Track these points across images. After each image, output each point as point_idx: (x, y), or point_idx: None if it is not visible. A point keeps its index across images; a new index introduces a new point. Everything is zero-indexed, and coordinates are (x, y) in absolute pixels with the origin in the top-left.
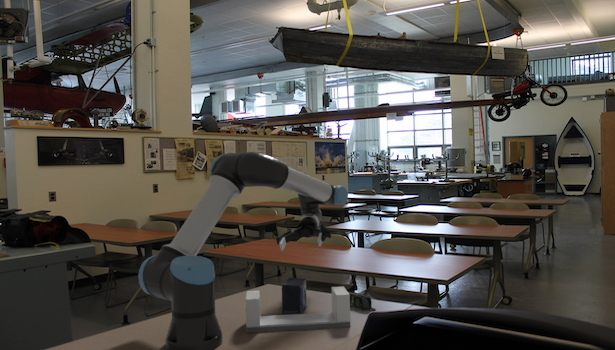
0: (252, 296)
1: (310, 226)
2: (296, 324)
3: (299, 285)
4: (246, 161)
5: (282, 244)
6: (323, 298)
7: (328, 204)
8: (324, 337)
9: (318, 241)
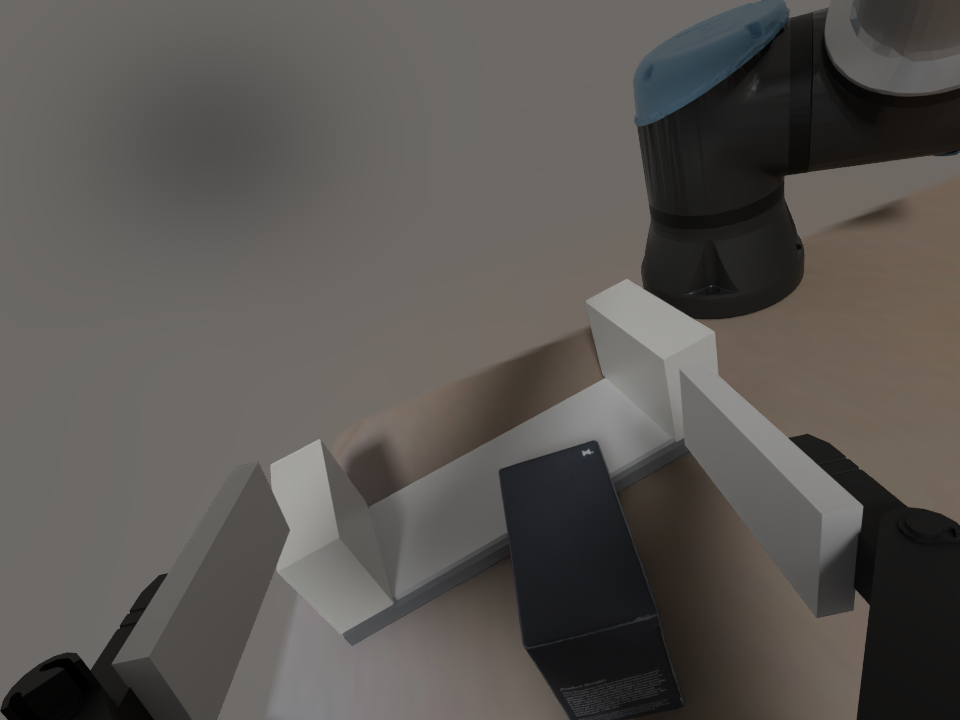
0: (628, 304)
1: None
2: (498, 439)
3: (499, 470)
4: None
5: (699, 411)
6: None
7: None
8: (406, 436)
9: (261, 485)
